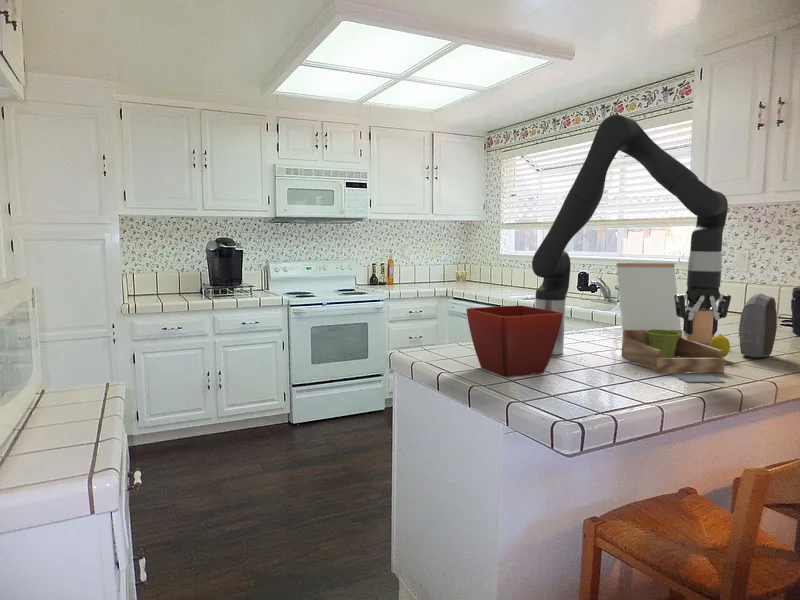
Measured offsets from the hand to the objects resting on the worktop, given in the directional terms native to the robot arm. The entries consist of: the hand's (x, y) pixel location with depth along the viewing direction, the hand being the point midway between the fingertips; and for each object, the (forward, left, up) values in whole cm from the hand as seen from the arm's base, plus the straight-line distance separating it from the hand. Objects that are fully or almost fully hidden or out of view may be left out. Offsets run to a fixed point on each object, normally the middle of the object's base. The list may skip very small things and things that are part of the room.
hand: (699, 333), depth 140 cm
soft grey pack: (+35, +28, -12) cm, 46 cm away
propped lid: (+2, +34, -12) cm, 36 cm away
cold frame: (+2, +17, -12) cm, 21 cm away
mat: (0, 0, -12) cm, 12 cm away
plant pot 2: (+2, +22, -12) cm, 25 cm away
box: (+30, +49, -12) cm, 59 cm away
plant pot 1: (-47, +9, -12) cm, 49 cm away
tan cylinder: (0, 0, -2) cm, 2 cm away
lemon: (+20, +22, -12) cm, 32 cm away
